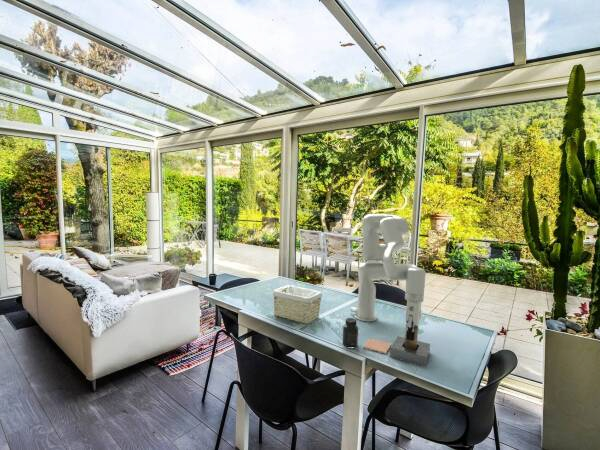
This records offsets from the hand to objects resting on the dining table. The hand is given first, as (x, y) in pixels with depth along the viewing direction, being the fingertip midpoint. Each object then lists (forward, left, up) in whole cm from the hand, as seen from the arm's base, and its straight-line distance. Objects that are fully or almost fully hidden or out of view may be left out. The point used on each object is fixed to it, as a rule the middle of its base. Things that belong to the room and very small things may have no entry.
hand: (411, 337), depth 134 cm
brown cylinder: (0, 0, -5) cm, 5 cm away
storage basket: (-63, +9, -8) cm, 64 cm away
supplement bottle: (-25, -7, -8) cm, 27 cm away
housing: (0, 0, -8) cm, 8 cm away
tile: (-14, -1, -8) cm, 16 cm away
